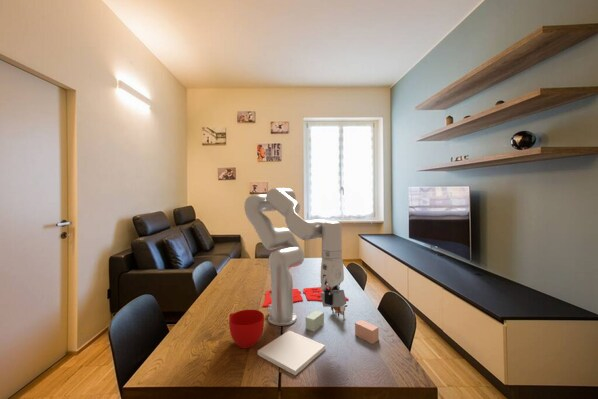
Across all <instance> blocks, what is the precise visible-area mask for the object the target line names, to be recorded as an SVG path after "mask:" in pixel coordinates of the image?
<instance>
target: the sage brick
mask: <svg viewBox="0 0 598 399" xmlns="http://www.w3.org/2000/svg"><path fill="white" fill-rule="evenodd" d="M324 324H325V313H324V312H323V311H320V310H318V309H317V310H314V311H312V312H311V313H309V314H308V315H306V317H305V329H306V330H308V331H311V332H315V331H317V330H318V329H319V328H320V327H322V326H323V325H324Z"/></svg>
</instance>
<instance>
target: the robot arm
mask: <svg viewBox="0 0 598 399" xmlns="http://www.w3.org/2000/svg"><path fill="white" fill-rule="evenodd" d="M296 199H297V198H296V194H295V192H294V190H292V189H291V188H287V187H273V188H270V189H269V190H268V191H267V192H266V193H262V194H261V193H256V194H252V195H250V196H248V197H247V198H246V199H245V201H244V212H245V215H246V218H247V219H248V221H249V223H250V224H251V225H252V226H253V228H254V229H255V232H256V234H257V236H258V238H259V240H260V241H261V244H262V246H264V248H265V249H266V250H267V251H268V250H269V251H271V250H272V252H271V253H270V255H269V256H268V265H269V270H270V278H271V280H270V281H271V291H272V292H271V297H272V305H269V306H268V307H266V311H267V312H269V316H268V317H267V318H268V319H267V320H268V322H269V323H270V324H271V325H274V326H278V327H279V326H280V327H283V326H284V327H285V326H289V325H293V323H295V322H296V321H297V314H296V313H294V303H293V289H294V286H293V284H294V283H293V282H294V281H293V276H292V274H291V273H290V269H293V268H297V267H298V266H301V265H302V264H303V263H304V260H305V254H304V251H303V249H302V247H301V245H300V243H299V241H298V240H297V238H299V239H300V240H302V241H311V240H317V239H321V263H320V264H321V266H320V284H321V285H320V287H321V288H320V289H321V290H323V291H324V293H325V304H329V305H333V294H332V290H341V289H340V288H341V286H340V285H341V283H343V282H344V278H345V272H344V260H343V252H342V250H343V248H342V247H343V243H342V242H343V240H342V239H343V238H342V237H343V233H342V230H343V228H342V227H343V225H342V223H341V222H340V221H336V220H327V219H320V218H319V219H317V218H316V219H311V220H310V219H309V220H308V219H307V220H305V219H304V218H302V217H301V216H300V215H298V214H299V213H300V210H301V205H300V203H299V202H298V201H297V200H296ZM275 211H277V212H278V213H279V214H281V216H283V217H284V220H285V224H286V226H287V227H275V226H274V224H273V222H272V220H271V218H269V217H268V216H267V215H266V214H265V213H264V212H275ZM296 237H297V238H296ZM327 287H329V289H328V288H327Z"/></svg>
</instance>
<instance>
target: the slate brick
mask: <svg viewBox="0 0 598 399" xmlns="http://www.w3.org/2000/svg"><path fill="white" fill-rule="evenodd" d="M320 294H321V299H322V303H321V304H322V307H324V308H325V307H326V308H331V307H342V306H343V305H347V301H346V299H345V297H346V296H345V295H346V294H345V290H344V289H339V290H332V294H333V305H329V304H325V293H324V292H322V293H320Z"/></svg>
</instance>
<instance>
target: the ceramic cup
mask: <svg viewBox="0 0 598 399" xmlns="http://www.w3.org/2000/svg"><path fill="white" fill-rule="evenodd" d="M228 318H229V319H228V325H229V332H230V336H231V338H232V340H233V341H234V343H235V344H236V345H237V346H238V347H239V348H241V349H249V348H252V347H254V346H255V345H256V344H257V343H258V342H259V340H260V339H261V337H262V335H263V330H264V326H265V315H264V313H263V312H262V311H260V310H258V309H243V310H238V311H236V312H232V313H230V314H229V316H228Z"/></svg>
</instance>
